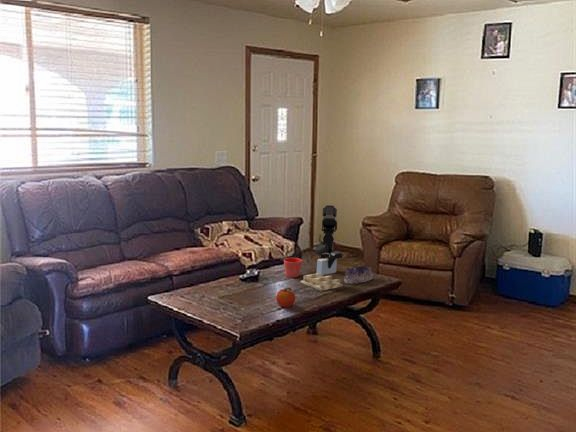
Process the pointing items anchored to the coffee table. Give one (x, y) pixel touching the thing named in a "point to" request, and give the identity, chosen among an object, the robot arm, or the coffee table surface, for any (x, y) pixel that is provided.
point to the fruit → (285, 297)
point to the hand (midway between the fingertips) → (326, 267)
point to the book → (325, 266)
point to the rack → (321, 281)
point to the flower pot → (292, 266)
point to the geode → (358, 275)
